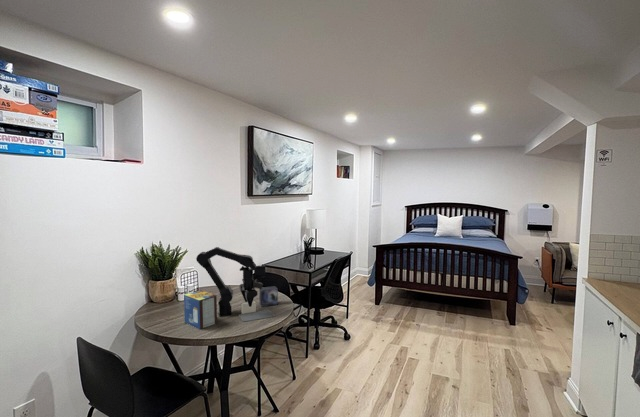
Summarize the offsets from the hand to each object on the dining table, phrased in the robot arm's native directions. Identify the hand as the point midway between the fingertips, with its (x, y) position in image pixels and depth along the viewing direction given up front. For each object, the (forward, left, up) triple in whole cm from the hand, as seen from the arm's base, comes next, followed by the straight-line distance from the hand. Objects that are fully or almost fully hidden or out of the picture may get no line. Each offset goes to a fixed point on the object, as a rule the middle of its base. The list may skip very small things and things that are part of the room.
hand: (248, 304), depth 197 cm
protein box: (-27, -4, -5) cm, 28 cm away
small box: (+15, +9, -5) cm, 18 cm away
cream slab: (0, 0, -5) cm, 5 cm away
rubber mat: (+3, -7, -5) cm, 9 cm away
